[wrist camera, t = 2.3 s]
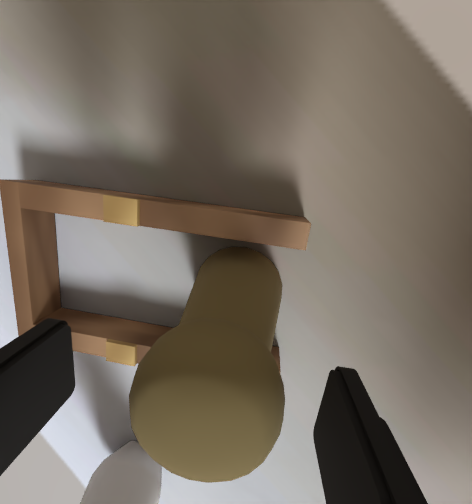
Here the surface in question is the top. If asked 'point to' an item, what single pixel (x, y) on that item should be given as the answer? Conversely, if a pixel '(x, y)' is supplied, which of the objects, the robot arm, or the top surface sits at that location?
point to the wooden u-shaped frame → (121, 212)
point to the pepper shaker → (215, 374)
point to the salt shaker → (125, 478)
